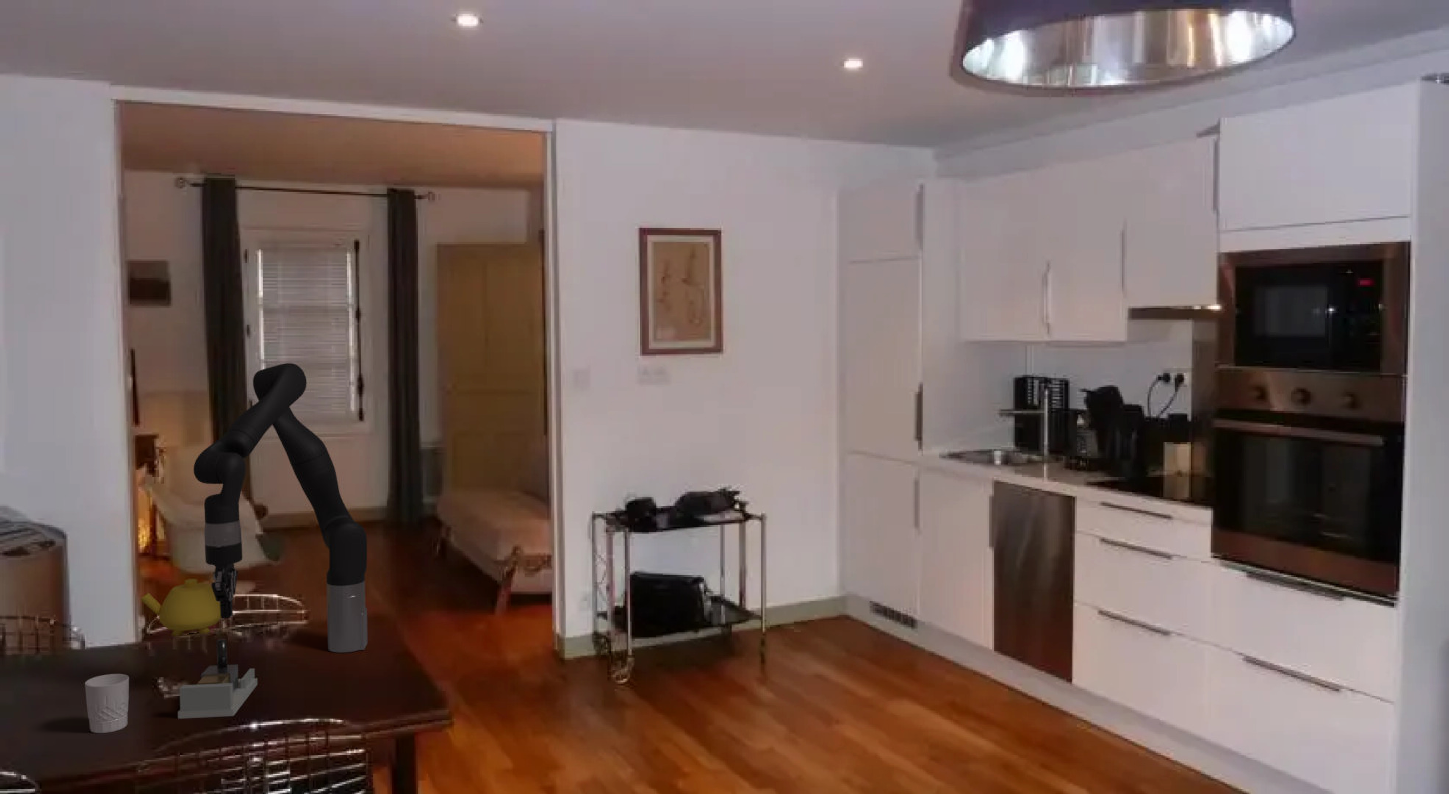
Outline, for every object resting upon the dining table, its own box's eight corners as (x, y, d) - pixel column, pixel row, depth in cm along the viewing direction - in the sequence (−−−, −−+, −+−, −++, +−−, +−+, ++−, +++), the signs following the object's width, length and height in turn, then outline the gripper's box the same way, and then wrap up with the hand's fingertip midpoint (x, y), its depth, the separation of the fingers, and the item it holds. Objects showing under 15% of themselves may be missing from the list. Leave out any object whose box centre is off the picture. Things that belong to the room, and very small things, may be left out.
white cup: (120, 717, 232) (119, 671, 231) (137, 726, 227) (135, 679, 226) (80, 728, 225) (78, 680, 225) (96, 737, 220) (94, 689, 220)
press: (207, 685, 252) (207, 657, 251) (258, 683, 254) (257, 655, 253) (178, 718, 231) (177, 688, 231) (233, 716, 233) (232, 686, 232)
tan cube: (229, 697, 240) (228, 674, 240) (222, 705, 235) (222, 682, 235) (205, 698, 239) (204, 675, 239) (198, 706, 234) (197, 683, 234)
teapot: (136, 642, 284) (135, 590, 283) (146, 626, 299) (144, 576, 298) (221, 635, 291) (220, 584, 290) (226, 619, 305) (224, 571, 304)
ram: (210, 687, 245) (208, 639, 244) (238, 686, 246) (237, 638, 245) (201, 697, 239) (200, 647, 238) (231, 695, 240) (229, 646, 239)
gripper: (213, 535, 250) (217, 610, 252) (196, 548, 237) (200, 626, 239) (248, 534, 252) (251, 608, 253) (233, 546, 239) (236, 624, 240)
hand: (226, 617), depth 246 cm, fingers closed
